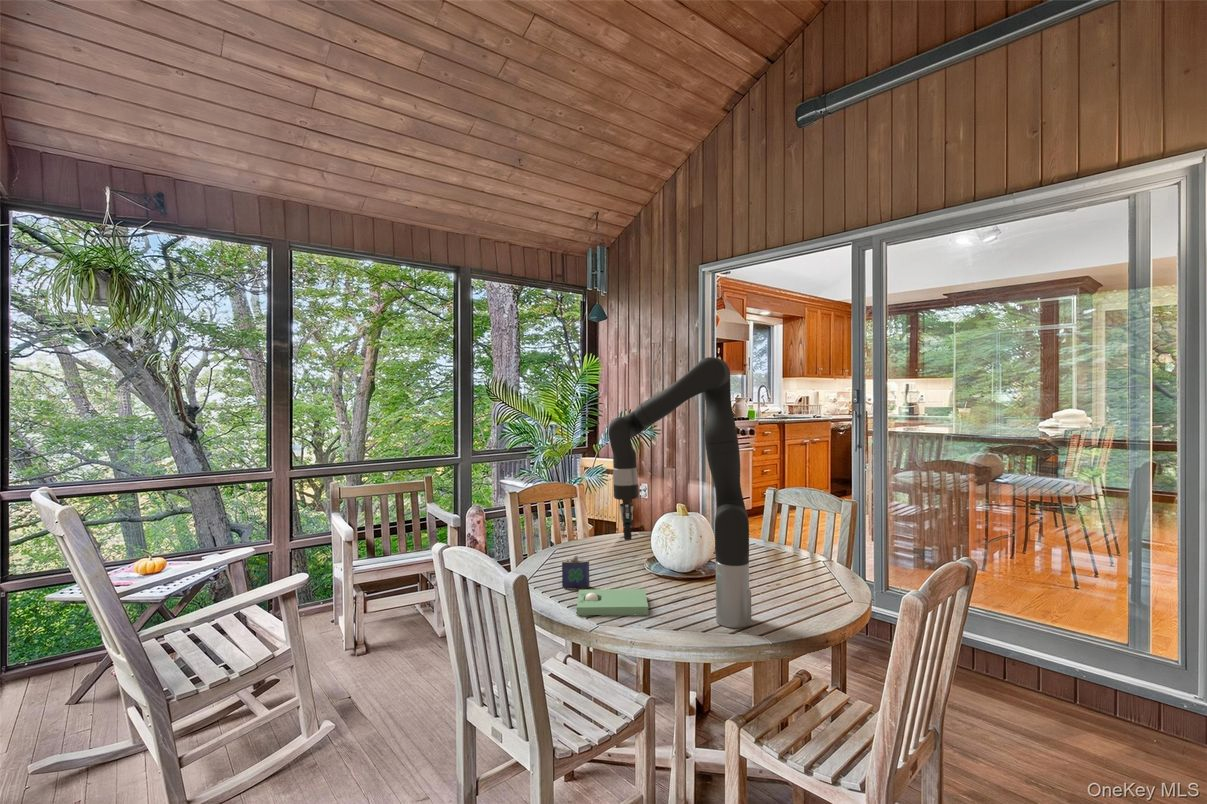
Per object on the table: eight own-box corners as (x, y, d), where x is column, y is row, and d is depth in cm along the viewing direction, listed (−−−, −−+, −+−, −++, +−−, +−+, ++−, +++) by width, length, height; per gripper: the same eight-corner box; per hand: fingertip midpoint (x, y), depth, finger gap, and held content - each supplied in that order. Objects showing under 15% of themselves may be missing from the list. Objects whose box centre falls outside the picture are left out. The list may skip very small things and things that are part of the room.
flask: (589, 585, 191) (588, 554, 191) (589, 588, 189) (589, 556, 188) (562, 586, 191) (561, 555, 190) (562, 589, 188) (561, 557, 188)
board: (644, 596, 180) (644, 588, 180) (648, 615, 165) (648, 606, 165) (579, 597, 180) (578, 589, 180) (576, 615, 165) (576, 607, 165)
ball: (582, 598, 175) (593, 606, 174) (582, 603, 171) (592, 610, 170) (590, 588, 175) (600, 595, 174) (589, 592, 171) (600, 600, 170)
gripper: (639, 485, 164) (641, 544, 164) (636, 478, 177) (639, 533, 178) (613, 486, 164) (615, 545, 164) (613, 479, 177) (615, 534, 178)
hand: (627, 539), depth 171 cm, fingers closed
